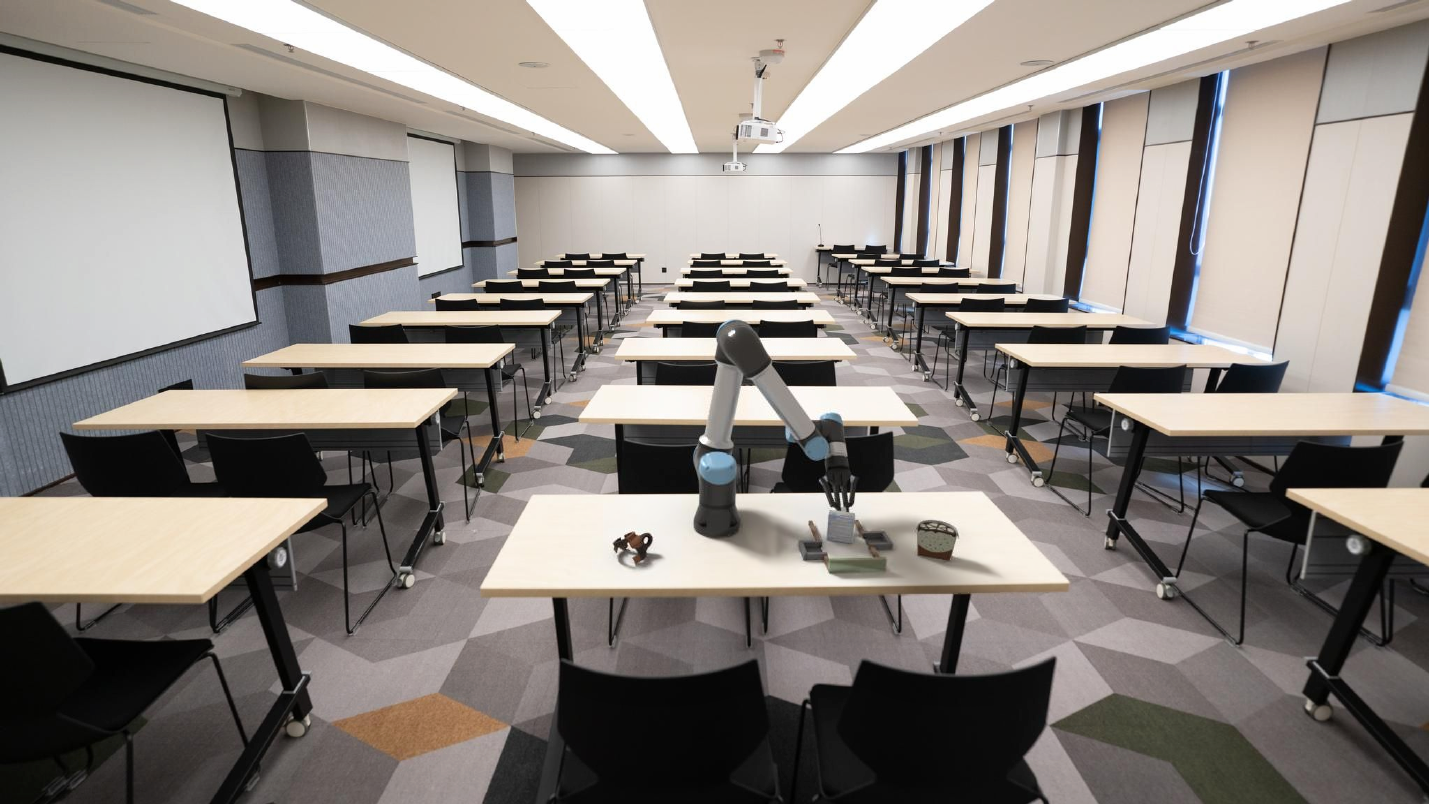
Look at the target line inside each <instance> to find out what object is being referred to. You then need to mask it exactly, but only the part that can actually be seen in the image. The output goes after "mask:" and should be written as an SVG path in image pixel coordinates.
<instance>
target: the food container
mask: <svg viewBox="0 0 1429 804" xmlns="http://www.w3.org/2000/svg"><path fill="white" fill-rule="evenodd" d="M914 532H916V539H917V540H916V541H917V542H916V549H917V551H916V554H917V557H920V558H926V559H931V560H938V561H944V562H949V563H950V562H951V559H952V557H953V552H954V549H955V546H956V541H957V539H960V536H959V531H958V528H956V526H955V525H952V524H951V523H949V522H946V521H943V520H936V519H927V520H922V521H919V522H918V524H917V525H916V526H915V531H914Z"/></svg>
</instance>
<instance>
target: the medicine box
mask: <svg viewBox="0 0 1429 804" xmlns="http://www.w3.org/2000/svg"><path fill="white" fill-rule="evenodd" d="M855 520H856V513H855V512H850V511H849V512H843V511H836V509H835V510H834V509H829V512H828V515H827V528H826V529H827V531H826V541H831V542H837V543H838V542H839V543H845V544H853V540H854V533H855V531H854V530H855V529H854V528H855V524H854V521H855Z"/></svg>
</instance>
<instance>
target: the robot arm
mask: <svg viewBox="0 0 1429 804" xmlns="http://www.w3.org/2000/svg"><path fill="white" fill-rule="evenodd" d="M715 336H716V338H715V340H716V349H715V355H714V361H715V362H716V365H717V367H716V368H717V369H716V373H715V380H714V385H713V389H712V395H711V400H710V405H709V411H708V415H707V421H706V427H705V431H704V433H703V435H700V436H699V439H698V442H697V443H698V444H697V446H696V447H695V450H694V452H693V456H692V457H693V458H692V459H693V460H692V461H693V465H694V468H695V471H696V474H697V478H698V485H699V486H698V488H699V489H698V491H699V493H698V496H699V497H698V506H697V508H696V510H695V514H694V516H693V522H692V523H693V529H694V530H695V531H696V532H697V533H698V534H700V535H703V536H705V537H706V536H707V537H710V538H725V537H730V536H733V535H735V534H737V533H738V532H740V530H741V517H740V513H739V512H738V508H737V505H736V504H737V502H736V500H737V499H736V498H737V496H736V495H737V473H738V467H737V461H736V459H735V458H734V456H732V455H733V450H734V446H735V444H734V442H733V441H732V440H731V436H732V431H733V427H734V422H735V416H736V412H737V407H738V402H739V397H740V392H741V387H742V383H743V378H744V377H745V378H746V380H751V381H752V382H753V385H755V386H756V388H757V389H758V391H759V393H761V395H762V396H763V398H764V399H765V400H766V401H767V403H768V404H769V406H770V407H771V408H772V409H773V411H774V412H775V414H776V415H777V416H778V418H779V419H780V420H781V422H782V423H783V424H784V426H785V438H786V440H787V442H788V443H789V442H790V443H797V444H798V445H799V446H800V448H801V449H802V450H803V452H804V454H805V455H806V456H807V457H808V458H809V459H810V460H813V461H820V460H823V459H824V467H825V473H824V476H822V477H820V478H819V480H818V482H819V484H820V485H821V486H822V488H823V491H824V493H825V496H826V499H827V502H828V504H829V507H830V508H834V509H835V511H843V512H850V508H852V507H853V506H854V505H855V499H856V498H855V497H856V489H857V483H858V481H859V479H860V478H859V477H858V476H854V475H852V472H851V471H850V465H849V461H848V460H849V459H848V451H847V445H846V440H845V439H846V438H845V437H846V436H845V430H844V427H845V426H844V423H843V419H842V416H841V414H839V413H838V412H828V413H827V412H826V413H823V414H822V415H820V417H819V419H811V418H810V417H809V415H808V413H806V411H805V409H804V408H803V406H801V404H800V402H799V401H798V400H797V398H796V397H795V395H793V394H794V393H793V392H792V391H791V390H790V389H789V387H788V386H787V384H786V383H785V381H784V380H783V379H782V377H781V376H780V375H779V373H778V372H777V370H776V369H775V367H774V366H773V365H772V363H773V360H772V358H771V356H770V355H769V353H768V352H767V350H766V349H765V347H764V345H763V343H762V341H761V339H760V337H759V335H758V334H757V332H756V331H755V330H754V329H753V328H752V326H751V325H750V324H749V323H747V322H746V321H745V320H741V319H739V318H738V319H737V318H736V319H734V318H733V319H729V320H727V321H725V322H723V323H722V324H721V325H720V326H719V328H718V330H717V332H716V335H715ZM849 481H850V489H849V495H848V488H847V485H848V484H847V483H848V482H849ZM829 483H830V484H831V485H832V490H833V494H832V491H831V489H830V485H829ZM839 487H840V488H839ZM840 490H841V492H840ZM840 493H841V494H840ZM841 499H842V501H841ZM841 502H842V503H841Z"/></svg>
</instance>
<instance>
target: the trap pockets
mask: <svg viewBox="0 0 1429 804" xmlns="http://www.w3.org/2000/svg"><path fill="white" fill-rule="evenodd" d="M862 533H863V537H864V538H862V539H863V540H864V542H865V543H866V544H867V547H868V546H874V548H875V549H876V551H893V550H894V549H893V548H894V543H893V541H892V540H891V539H890V537H889V536H888V534H887V532H886V531H885V530H865V531H862ZM865 535H866V536H865ZM821 543H822V544H821ZM818 545H819V547H818ZM797 548H798V551H799V552H800V555H801V559H802V561H824V556H828V557H829V553H828V551H823V540H822V539H821V540H815V539H809V540H808V539H807V540H806V539H804V540H803V539H802V540H801V539H799V540H798V543H797ZM868 548H869V547H868Z"/></svg>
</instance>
